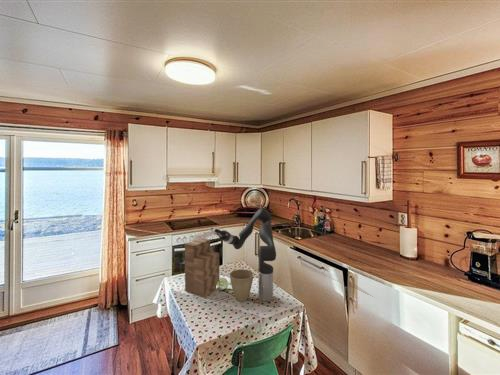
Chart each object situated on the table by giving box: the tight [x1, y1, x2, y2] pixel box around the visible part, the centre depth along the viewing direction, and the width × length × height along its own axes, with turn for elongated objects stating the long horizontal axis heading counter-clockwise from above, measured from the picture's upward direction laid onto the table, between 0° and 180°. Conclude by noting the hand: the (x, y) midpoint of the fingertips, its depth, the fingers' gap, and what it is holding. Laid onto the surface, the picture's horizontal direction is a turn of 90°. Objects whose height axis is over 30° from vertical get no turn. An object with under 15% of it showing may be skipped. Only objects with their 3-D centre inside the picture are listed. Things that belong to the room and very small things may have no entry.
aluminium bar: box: [193, 226, 222, 241], centre depth 166 cm, size 24×3×3 cm, turn 150°
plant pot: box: [229, 268, 255, 303], centre depth 154 cm, size 15×15×16 cm
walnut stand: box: [184, 238, 220, 299], centre depth 165 cm, size 16×16×32 cm
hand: (213, 229), depth 171 cm, fingers closed on aluminium bar, 3 cm apart
